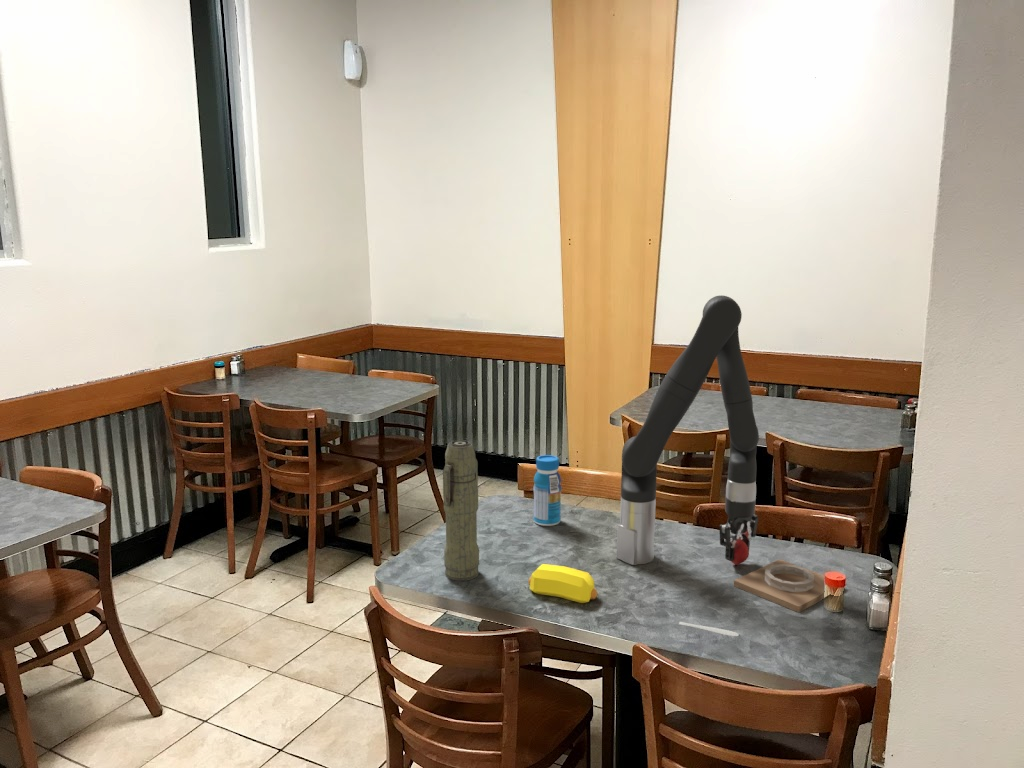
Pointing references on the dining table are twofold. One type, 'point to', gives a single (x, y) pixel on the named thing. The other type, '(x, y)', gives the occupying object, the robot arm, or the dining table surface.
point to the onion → (740, 552)
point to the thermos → (461, 511)
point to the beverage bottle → (547, 491)
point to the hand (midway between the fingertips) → (737, 556)
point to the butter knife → (712, 629)
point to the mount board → (779, 595)
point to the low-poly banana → (563, 583)
